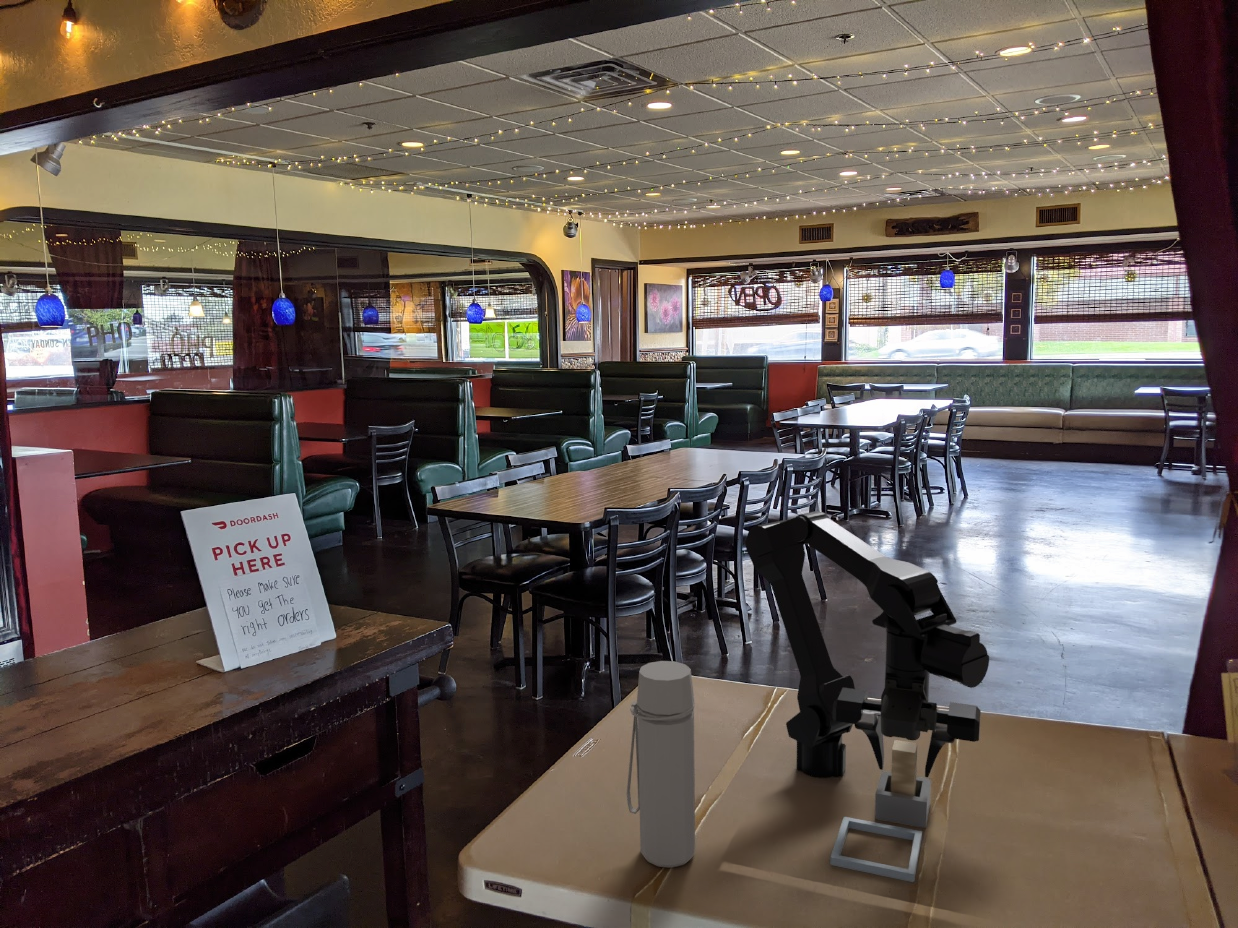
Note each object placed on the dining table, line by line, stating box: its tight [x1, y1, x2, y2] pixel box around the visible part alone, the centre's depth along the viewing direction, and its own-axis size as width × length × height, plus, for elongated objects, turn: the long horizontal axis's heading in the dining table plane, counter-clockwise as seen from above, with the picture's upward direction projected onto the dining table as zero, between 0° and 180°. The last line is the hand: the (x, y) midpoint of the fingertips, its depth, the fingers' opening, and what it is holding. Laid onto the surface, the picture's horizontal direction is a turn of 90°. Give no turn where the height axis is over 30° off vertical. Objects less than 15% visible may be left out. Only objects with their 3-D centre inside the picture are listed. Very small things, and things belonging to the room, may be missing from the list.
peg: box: [890, 739, 918, 797], centre depth 126 cm, size 3×3×10 cm
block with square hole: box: [874, 770, 932, 829], centre depth 127 cm, size 7×7×4 cm
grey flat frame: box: [829, 816, 923, 883], centre depth 118 cm, size 10×10×2 cm
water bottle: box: [626, 660, 696, 868], centre depth 118 cm, size 9×8×25 cm
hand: (903, 772), depth 126 cm, fingers open, 6 cm apart
